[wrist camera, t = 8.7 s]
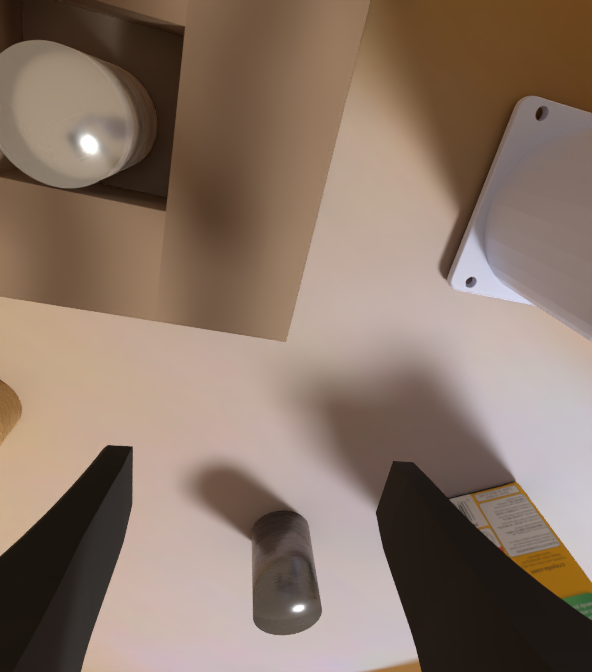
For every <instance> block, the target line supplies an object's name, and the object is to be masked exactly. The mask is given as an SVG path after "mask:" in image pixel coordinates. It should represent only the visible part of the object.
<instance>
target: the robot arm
mask: <svg viewBox="0 0 592 672" xmlns="http://www.w3.org/2000/svg"><path fill="white" fill-rule="evenodd" d="M540 107H541V108H542V111H543V112H542V116H541V117H540V119H539V120H537V119H536V117H535V115H536V111H537V110H538V108H540ZM470 277H473V279H472V282H471V283H470V284H468V285H465V283H466V280H467V279H468V278H470ZM447 281H448V284H449V286H450V287H452V288H453V289H455V290H458V291H463V292H468V293H473V294H478V295H483V296H488V297H493V298H498V299H503V300H508V301H513V302H518V303H523V304H528V305H533V306H537V307H538V308H540V309H542V310H543V311H545V312H546V313H548V314H549V315H551V316H552V317H554V318H555V319H557V320H559V321H560V322H562V323H563V324H565V325H566V326H568V327H569V328H571V329H572V330H574V331H575V332H577V333H579V334H580V335H582V336H583V337H585V338H586V339H588V340H589V341H591V342H592V113H590V112H587V111H584V110H580V109H577V108H574V107H570V106H567V105H564V104H561V103H557V102H554V101H551V100H548V99H544V98H541V97H538V96H526V97H523V98H521V99H520V100H519V101H518V102H517V104H516V106H515V107H514V110H513V112H512V115H511V117H510V120H509V123H508V125H507V128H506V130H505V133H504V135H503V138H502V140H501V143H500V145H499V148H498V150H497V153H496V155H495V158H494V161H493V163H492V166H491V168H490V171H489V173H488V176H487V178H486V181H485V183H484V186H483V188H482V191H481V193H480V196H479V198H478V201H477V204H476V206H475V209H474V211H473V214H472V216H471V219H470V221H469V224H468V226H467V229H466V231H465V234H464V236H463V239H462V242H461V244H460V247H459V249H458V252H457V254H456V257H455V259H454V262H453V264H452V267H451V269H450V272H449V274H448V278H447ZM132 467H133V447H130V446H113V445H108V446H106V447H105V448H104V449H103V450H102V451H101V452H100V454H99V455H98V456H97V457H96V459H95V460H94V461H93V462H92V464H91V465H90V466H89V467H88V468H87V470H86V471H85V472H84V473H83V474H82V475H81V476H80V478H79V479H78V480H77V481H76V482H75V483H74V484H73V485H72V487H71V488H70V489H69V490H68V491H67V492H66V493H65V494H64V495H63V496H62V497H61V498H60V499H59V500H58V501H57V503H56V504H55V505H54V506H53V507H52V508H51V509H50V510H49V511H48V512H47V513H46V514H45V515H44V516H43V517H42V518H41V519H40V520H39V521H38V522H37V523H36V524H35V525H34V526H32V527H31V528H30V529H29V530H28V531H27V532H26V533H25V534H24V535H23V536H22V537H21V538H20V539H19V540H18V541H17V542H16V543H15V544H13V545H12V546H11V547H10V548H9V549H8V550H7V551H6V552H4V553H3V554H2V555H1V556H0V672H81V669H82V665H83V661H84V657H85V654H86V650H87V647H88V644H89V641H90V637H91V634H92V631H93V628H94V625H95V623H96V620H97V617H98V614H99V611H100V608H101V605H102V603H103V600H104V597H105V594H106V591H107V588H108V585H109V583H110V580H111V577H112V574H113V571H114V568H115V565H116V562H117V560H118V557H119V554H120V551H121V548H122V545H123V542H124V538H125V533H126V529H127V525H128V520H129V516H130V512H131V507H132ZM376 515H377V521H378V526H379V531H380V536H381V540H382V545H383V549H384V552H385V555H386V558H387V561H388V564H389V567H390V571H391V574H392V577H393V580H394V582H395V585H396V588H397V591H398V594H399V597H400V600H401V603H402V606H403V609H404V612H405V615H406V618H407V621H408V624H409V627H410V630H411V633H412V636H413V640H414V643H415V646H416V650H417V654H418V658H419V662H420V666H421V671H422V672H592V620H591V619H589V618H588V617H586V616H585V615H583V614H582V613H580V612H579V611H578V610H576V609H575V608H573V607H572V606H571V605H569V604H568V603H567V602H565V601H564V600H562V599H561V598H560V597H558V596H557V595H555V594H554V593H553V592H552V591H550V590H549V589H548V588H546V587H545V586H544V585H542V584H541V583H540V582H539V581H537V580H536V579H535V578H534V577H532V576H531V575H530V574H529V573H528V572H526V571H525V570H524V569H523V568H521V567H520V566H519V565H518V564H517V563H515V562H514V561H513V560H512V559H511V558H510V557H508V556H507V555H506V554H505V553H504V552H503V551H502V550H500V549H499V548H498V547H497V546H496V545H495V544H494V543H493V542H492V541H491V540H490V539H489V538H487V537H486V536H485V535H484V534H483V533H482V532H481V531H480V530H479V529H478V528H477V527H476V526H475V525H474V524H473V523H472V522H471V521H470V520H469V519H468V518H467V517H466V516H465V515H464V514H463V513H462V512H461V511H460V510H459V509H458V508H457V507H456V506H455V505H454V504H453V503H452V502H451V501H450V500H449V499H448V498H447V497H446V496H445V495H444V494H443V493H442V492H441V491H440V490H439V488H438V487H437V486H436V485H435V484H434V483H433V482H432V481H431V480H430V479H429V478H428V477H427V476H426V475H425V474H424V473H423V472H422V471H421V470H420V469H419V468H418V467H417V466H416V465H415V464H414V463H413V462H397V461H393V464H392V466H391V469H390V472H389V475H388V478H387V481H386V484H385V487H384V490H383V493H382V496H381V499H380V502H379V505H378V508H377V511H376Z"/></svg>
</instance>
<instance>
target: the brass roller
mask: <svg viewBox="0 0 592 672" xmlns="http://www.w3.org/2000/svg"><path fill="white" fill-rule="evenodd" d="M21 413H22V407H21V403H20V400H19V398H18V396H17V395H16V393H15V392H14V391H13V390H12V389H11V388H10V387H9V386H8V385H7V384H5V383H4V382H2V381H1V380H0V446H1V444H2V443H3V442H4V440H5V439H6V437H7V436H8V435H9V433H10V432H11V431H12V429H13V428H14V427H15V425H16V424H17V422H18V421H19V419H20V417H21Z"/></svg>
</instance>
